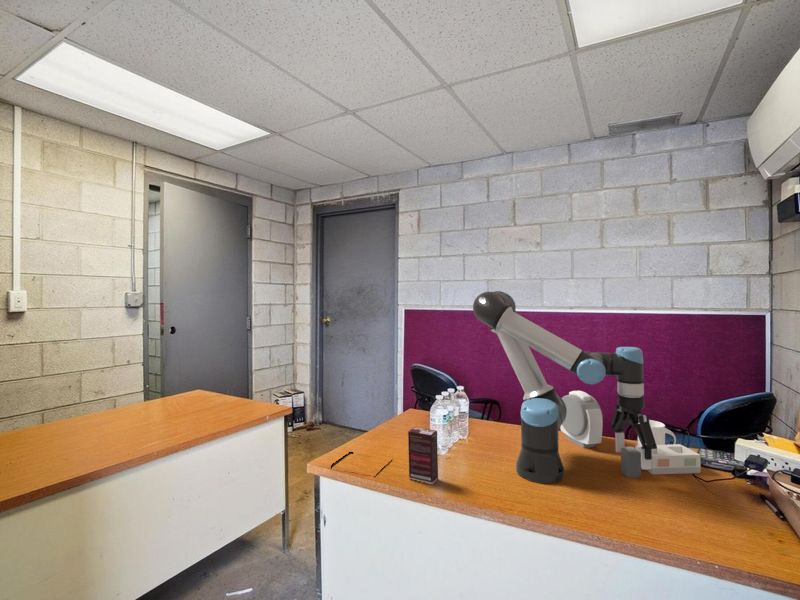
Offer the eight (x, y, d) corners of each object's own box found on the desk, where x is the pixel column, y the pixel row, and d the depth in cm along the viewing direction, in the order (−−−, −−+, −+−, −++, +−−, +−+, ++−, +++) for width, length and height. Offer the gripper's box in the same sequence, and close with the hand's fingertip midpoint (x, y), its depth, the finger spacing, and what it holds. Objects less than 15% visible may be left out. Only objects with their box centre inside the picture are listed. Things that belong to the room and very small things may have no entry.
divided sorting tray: (653, 474, 128) (653, 456, 127) (635, 462, 137) (635, 445, 137) (701, 473, 128) (701, 455, 128) (680, 461, 137) (679, 444, 137)
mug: (678, 459, 139) (678, 429, 138) (639, 454, 144) (639, 425, 143) (673, 450, 147) (673, 422, 146) (636, 446, 151) (636, 418, 151)
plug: (628, 477, 126) (628, 450, 126) (621, 471, 130) (621, 445, 130) (640, 477, 126) (640, 450, 126) (633, 471, 130) (632, 445, 130)
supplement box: (438, 479, 127) (438, 430, 127) (432, 485, 123) (432, 435, 122) (414, 473, 131) (414, 426, 131) (408, 479, 127) (407, 430, 127)
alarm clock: (605, 449, 148) (605, 396, 148) (586, 452, 146) (586, 398, 146) (573, 433, 166) (573, 385, 165) (556, 435, 164) (555, 387, 163)
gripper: (669, 404, 115) (671, 476, 115) (619, 385, 140) (621, 444, 140) (644, 405, 115) (646, 477, 115) (598, 386, 140) (600, 445, 140)
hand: (632, 459), depth 128 cm, fingers open, 13 cm apart
